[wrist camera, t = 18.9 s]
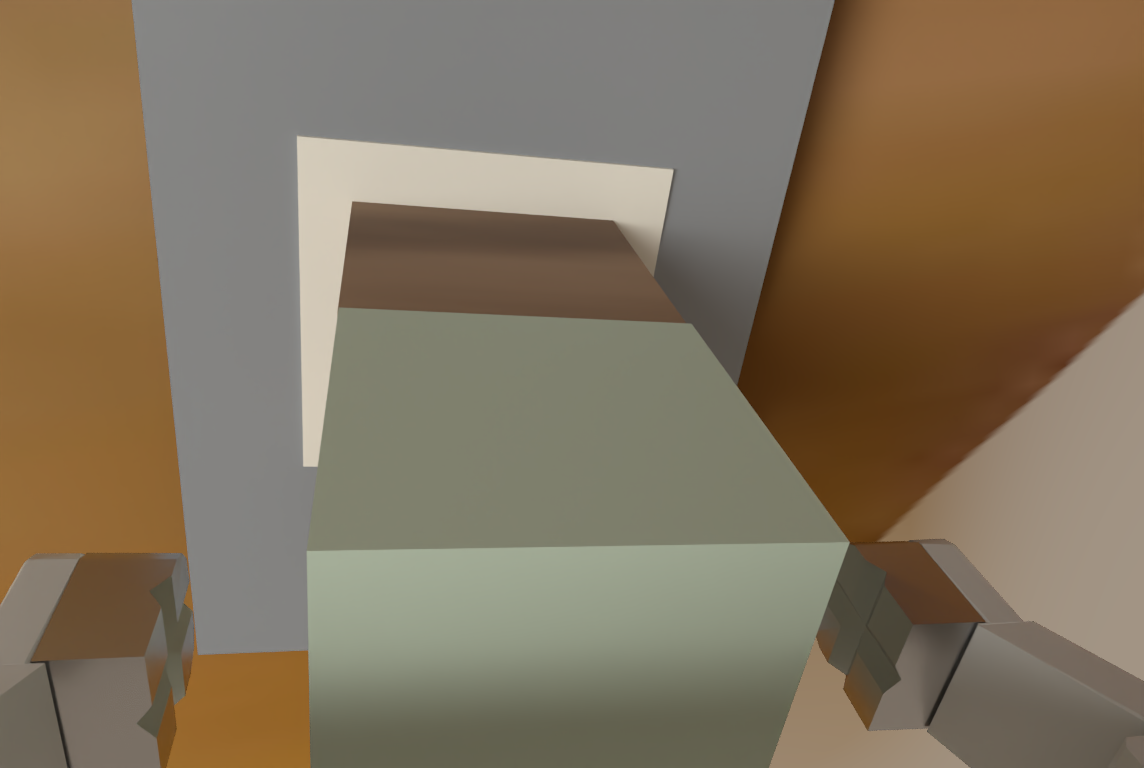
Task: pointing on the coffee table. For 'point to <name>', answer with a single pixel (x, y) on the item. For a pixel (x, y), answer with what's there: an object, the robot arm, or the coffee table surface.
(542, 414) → the sage green block
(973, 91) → the coffee table surface
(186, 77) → the baseplate
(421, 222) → the walnut block
